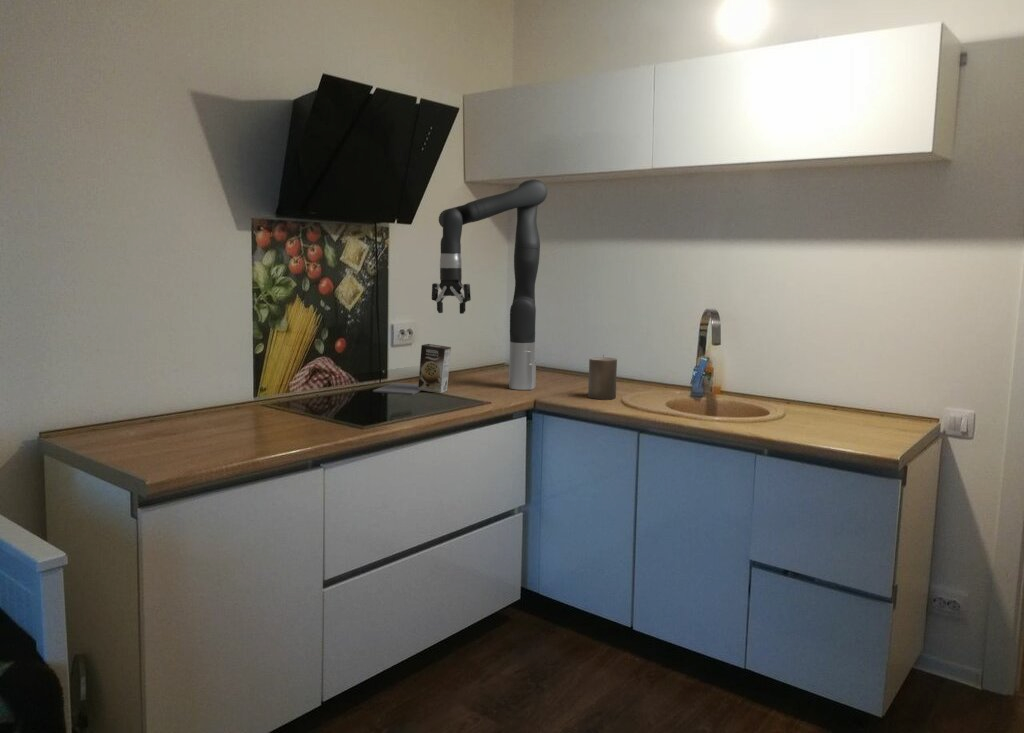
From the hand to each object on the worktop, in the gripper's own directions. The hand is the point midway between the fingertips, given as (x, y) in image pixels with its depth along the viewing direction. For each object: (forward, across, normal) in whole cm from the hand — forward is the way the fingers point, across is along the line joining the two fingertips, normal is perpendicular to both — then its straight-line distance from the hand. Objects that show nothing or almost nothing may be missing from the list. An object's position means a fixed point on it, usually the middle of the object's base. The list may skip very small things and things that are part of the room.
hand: (451, 313), depth 266 cm
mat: (+28, +17, +5) cm, 33 cm away
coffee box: (+28, +6, +3) cm, 29 cm away
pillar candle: (+29, -51, -15) cm, 61 cm away
